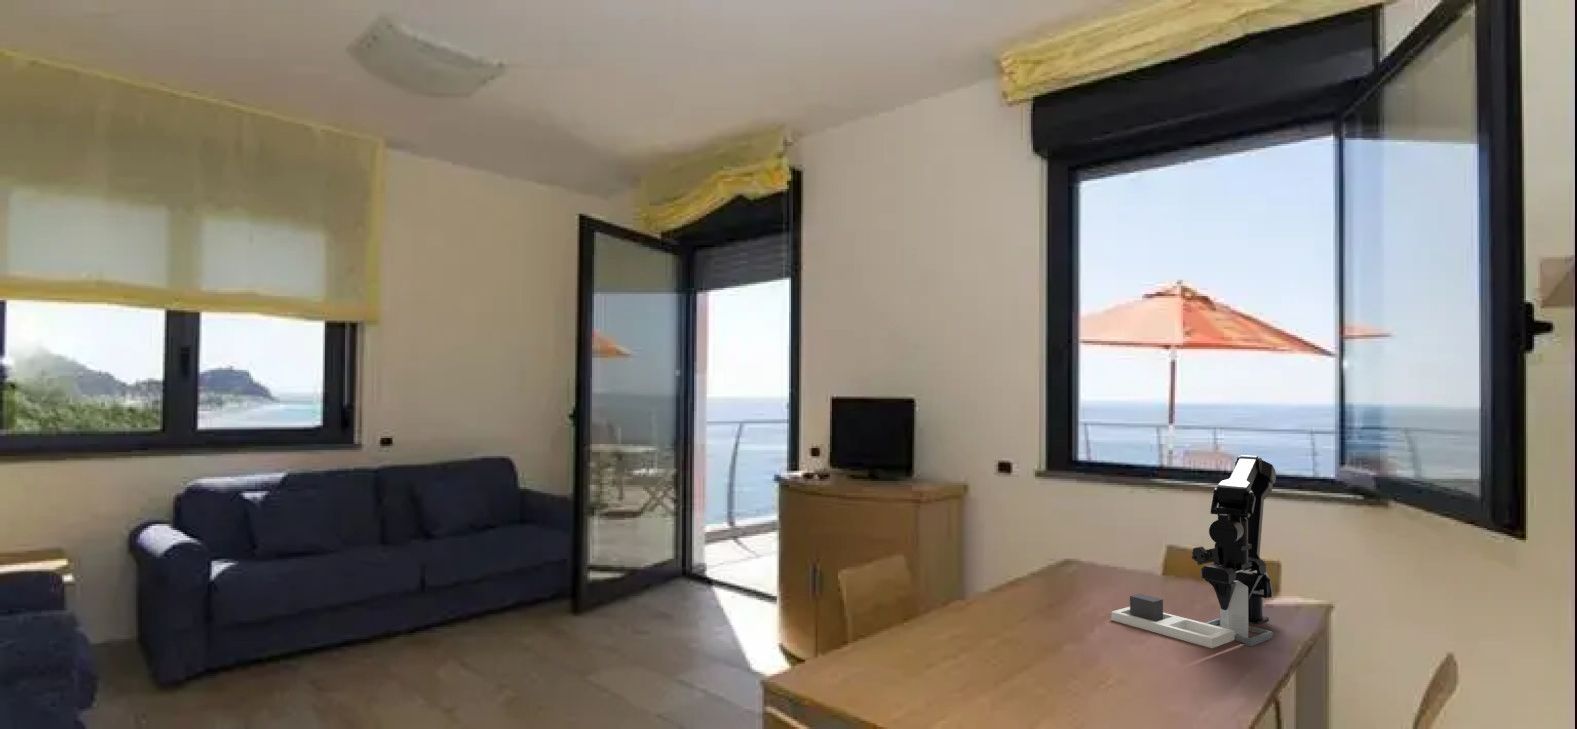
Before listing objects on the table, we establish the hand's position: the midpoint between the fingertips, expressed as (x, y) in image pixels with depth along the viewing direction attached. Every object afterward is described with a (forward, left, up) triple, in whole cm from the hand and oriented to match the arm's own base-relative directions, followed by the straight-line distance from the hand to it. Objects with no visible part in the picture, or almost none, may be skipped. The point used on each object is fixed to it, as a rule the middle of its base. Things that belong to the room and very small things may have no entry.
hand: (1234, 606), depth 180 cm
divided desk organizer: (+10, -9, -7) cm, 15 cm away
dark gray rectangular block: (+10, -15, -6) cm, 19 cm away
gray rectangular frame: (0, 0, -7) cm, 7 cm away
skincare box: (0, 0, -7) cm, 7 cm away
